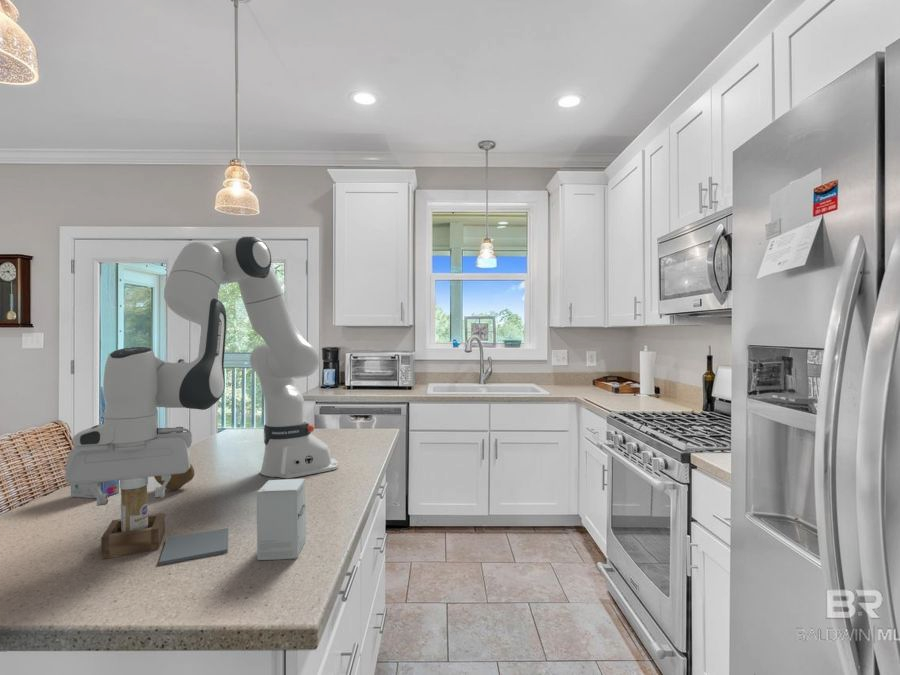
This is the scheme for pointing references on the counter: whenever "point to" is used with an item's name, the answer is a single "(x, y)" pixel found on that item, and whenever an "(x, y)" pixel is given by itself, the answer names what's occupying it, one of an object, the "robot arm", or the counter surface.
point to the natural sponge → (177, 479)
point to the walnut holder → (133, 537)
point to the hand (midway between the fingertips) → (131, 500)
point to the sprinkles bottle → (134, 504)
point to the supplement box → (281, 519)
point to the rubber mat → (194, 546)
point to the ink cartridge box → (105, 487)
